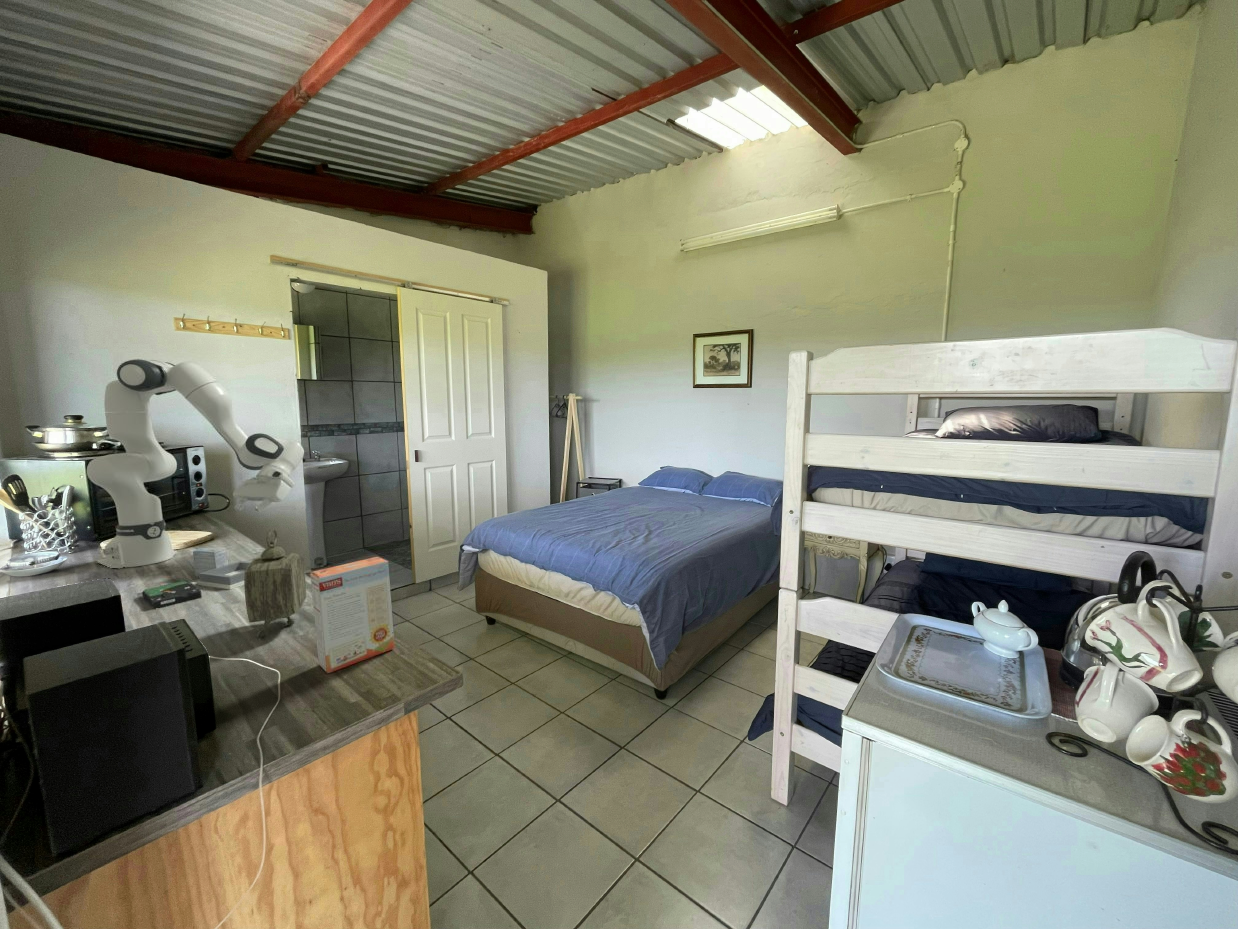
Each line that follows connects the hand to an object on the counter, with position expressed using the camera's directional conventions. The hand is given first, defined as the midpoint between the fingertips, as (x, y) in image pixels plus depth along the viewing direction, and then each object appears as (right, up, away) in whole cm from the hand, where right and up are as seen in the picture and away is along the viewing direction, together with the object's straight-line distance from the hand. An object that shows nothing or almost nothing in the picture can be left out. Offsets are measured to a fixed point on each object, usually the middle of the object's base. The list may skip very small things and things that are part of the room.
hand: (247, 510), depth 169 cm
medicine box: (-4, -20, -10) cm, 23 cm away
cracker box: (+72, -27, -62) cm, 99 cm away
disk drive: (0, -23, -29) cm, 37 cm away
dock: (+8, -21, -14) cm, 26 cm away
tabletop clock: (+45, -25, -47) cm, 70 cm away
